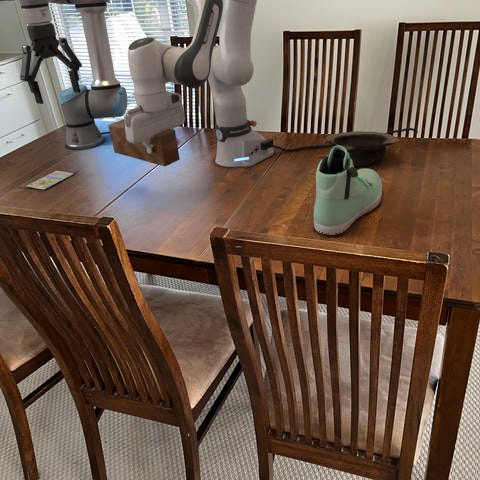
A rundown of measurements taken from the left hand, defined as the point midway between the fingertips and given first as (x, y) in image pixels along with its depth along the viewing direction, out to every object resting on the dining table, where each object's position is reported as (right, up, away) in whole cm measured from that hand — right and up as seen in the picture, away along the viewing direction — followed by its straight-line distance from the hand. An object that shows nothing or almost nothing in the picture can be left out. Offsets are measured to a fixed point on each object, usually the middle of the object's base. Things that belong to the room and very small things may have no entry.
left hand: (59, 97), depth 150 cm
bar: (+28, -19, -2) cm, 33 cm away
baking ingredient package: (-12, -23, +23) cm, 34 cm away
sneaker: (+88, -35, -11) cm, 95 cm away
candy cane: (+27, -7, +45) cm, 52 cm away
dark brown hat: (+99, -15, +21) cm, 102 cm away
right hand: (+33, -17, -8) cm, 38 cm away
